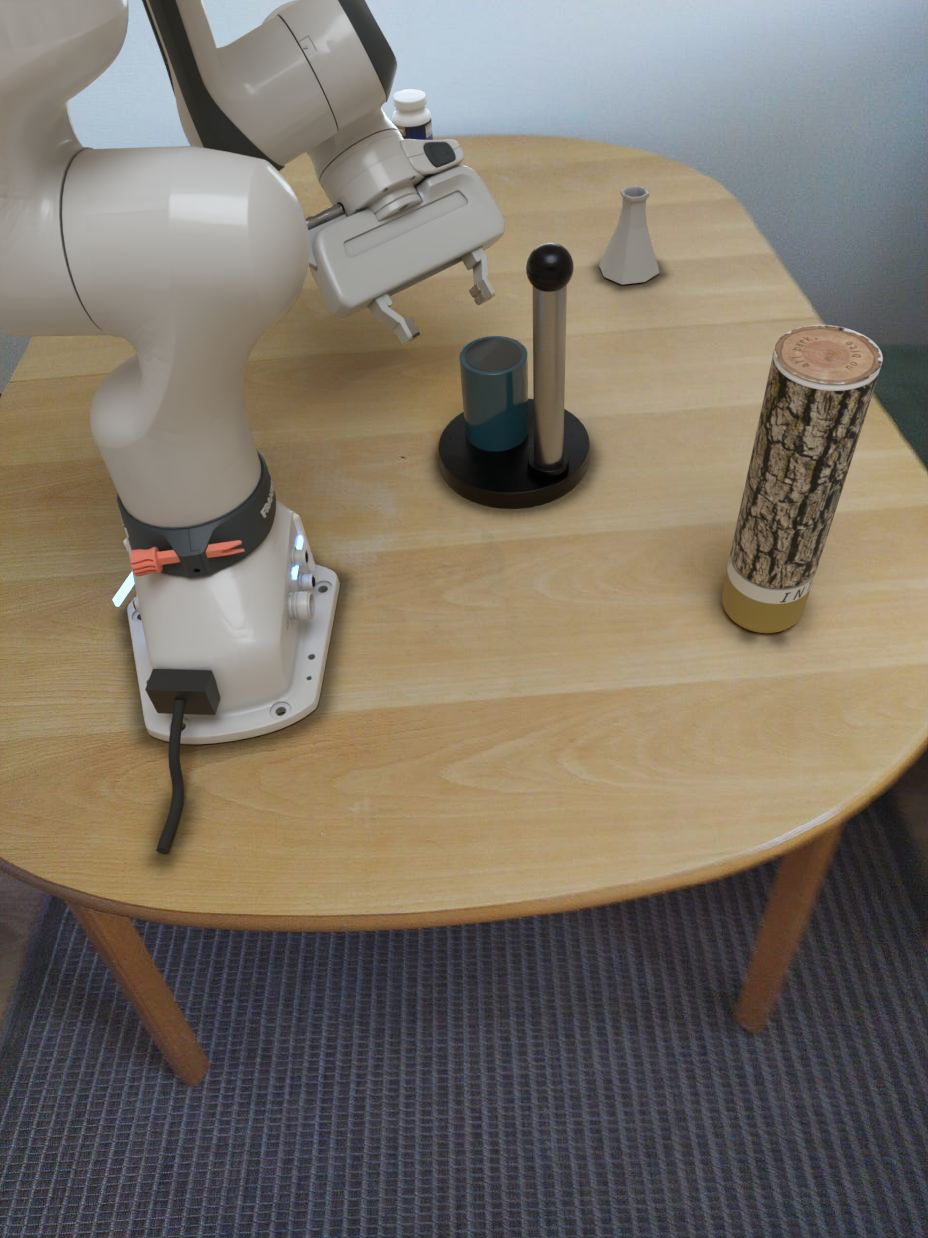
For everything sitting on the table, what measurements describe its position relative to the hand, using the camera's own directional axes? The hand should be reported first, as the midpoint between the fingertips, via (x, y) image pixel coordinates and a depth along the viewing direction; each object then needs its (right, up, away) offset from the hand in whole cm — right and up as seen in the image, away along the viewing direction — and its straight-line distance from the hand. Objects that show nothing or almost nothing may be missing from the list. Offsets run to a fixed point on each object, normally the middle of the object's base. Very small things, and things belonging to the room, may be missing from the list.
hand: (450, 319), depth 91 cm
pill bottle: (-6, +39, +50) cm, 64 cm away
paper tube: (+27, -28, -10) cm, 40 cm away
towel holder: (+6, -13, +4) cm, 15 cm away
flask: (+22, +14, +27) cm, 38 cm away
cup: (+5, -10, +4) cm, 12 cm away
